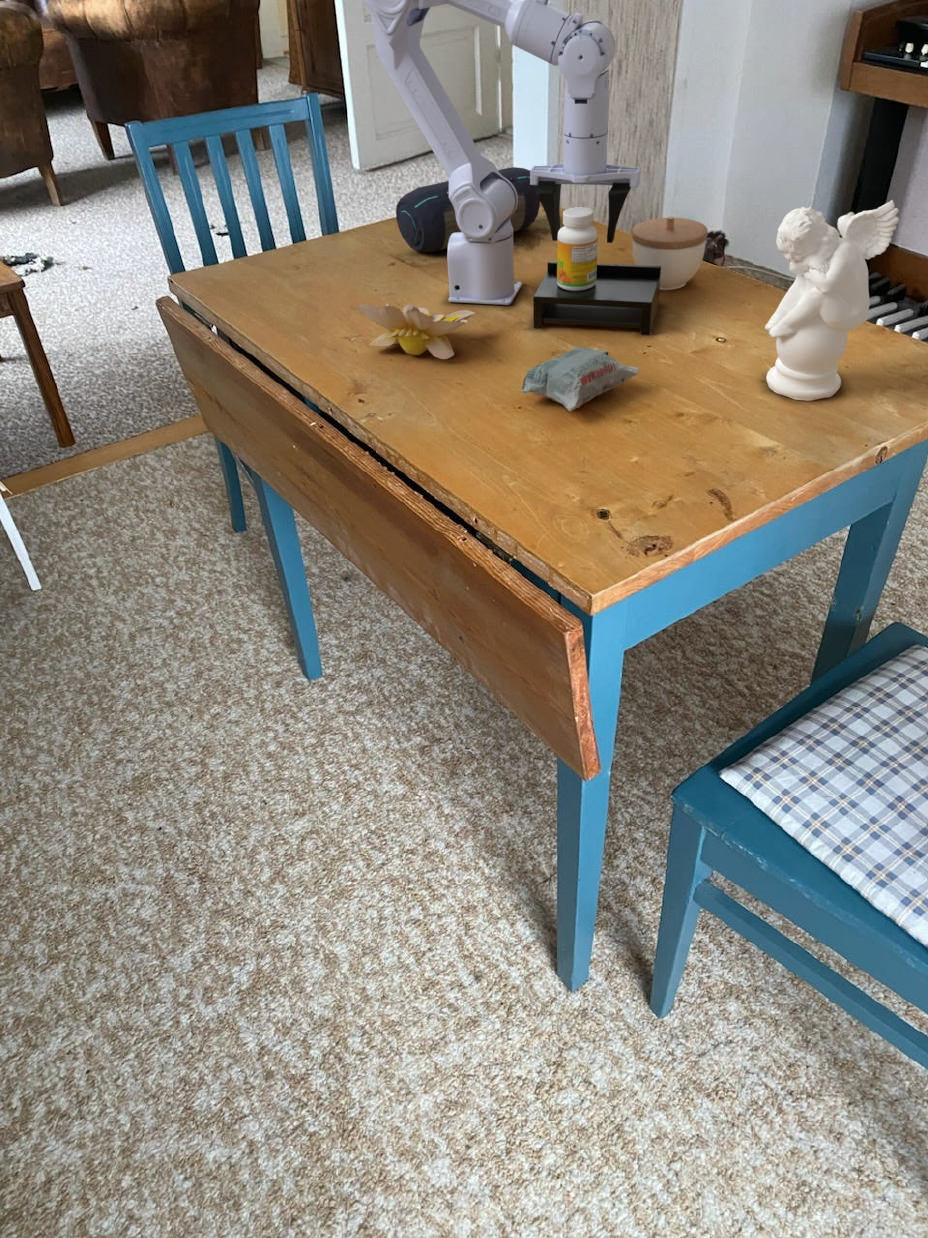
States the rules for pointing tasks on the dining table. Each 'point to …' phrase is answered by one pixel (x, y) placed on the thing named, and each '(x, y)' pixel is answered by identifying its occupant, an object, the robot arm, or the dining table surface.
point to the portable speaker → (433, 215)
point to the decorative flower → (415, 328)
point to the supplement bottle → (577, 250)
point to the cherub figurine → (823, 295)
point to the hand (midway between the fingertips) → (583, 239)
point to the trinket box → (670, 248)
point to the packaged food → (577, 376)
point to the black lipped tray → (601, 298)
